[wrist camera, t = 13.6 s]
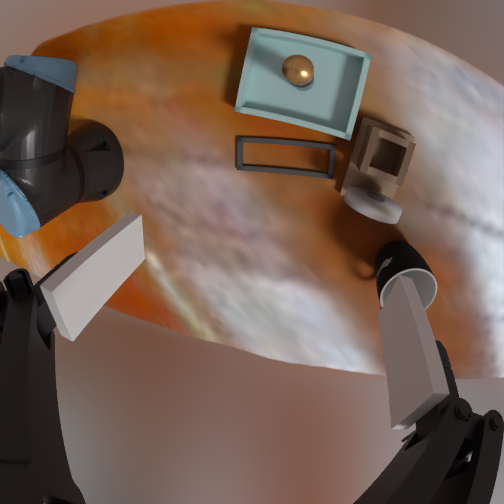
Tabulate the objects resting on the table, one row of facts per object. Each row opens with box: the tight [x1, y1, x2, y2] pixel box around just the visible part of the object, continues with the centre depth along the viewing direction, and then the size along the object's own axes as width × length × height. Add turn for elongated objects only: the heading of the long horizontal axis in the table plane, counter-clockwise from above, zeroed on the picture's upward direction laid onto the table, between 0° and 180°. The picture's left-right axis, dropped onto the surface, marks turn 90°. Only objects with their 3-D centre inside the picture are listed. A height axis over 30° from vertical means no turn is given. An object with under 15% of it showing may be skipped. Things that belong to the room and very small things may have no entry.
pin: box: [282, 55, 314, 91], centre depth 26 cm, size 3×3×12 cm
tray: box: [234, 27, 371, 140], centre depth 30 cm, size 16×13×3 cm
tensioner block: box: [339, 116, 416, 224], centre depth 31 cm, size 8×12×9 cm, turn 169°
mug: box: [375, 241, 437, 310], centre depth 38 cm, size 12×9×10 cm
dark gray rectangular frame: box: [237, 137, 336, 179], centre depth 37 cm, size 14×5×1 cm, turn 89°
